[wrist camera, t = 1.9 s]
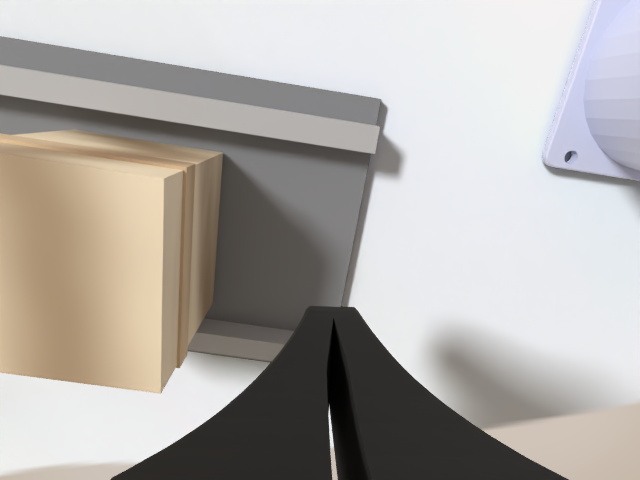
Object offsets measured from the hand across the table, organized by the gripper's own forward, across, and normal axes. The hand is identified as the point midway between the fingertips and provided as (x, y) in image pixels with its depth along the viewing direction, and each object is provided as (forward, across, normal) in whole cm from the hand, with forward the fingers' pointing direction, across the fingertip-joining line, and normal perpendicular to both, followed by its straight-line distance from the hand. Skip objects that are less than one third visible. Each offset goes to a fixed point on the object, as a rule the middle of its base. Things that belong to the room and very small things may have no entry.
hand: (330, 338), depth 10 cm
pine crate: (+7, +8, -1) cm, 11 cm away
